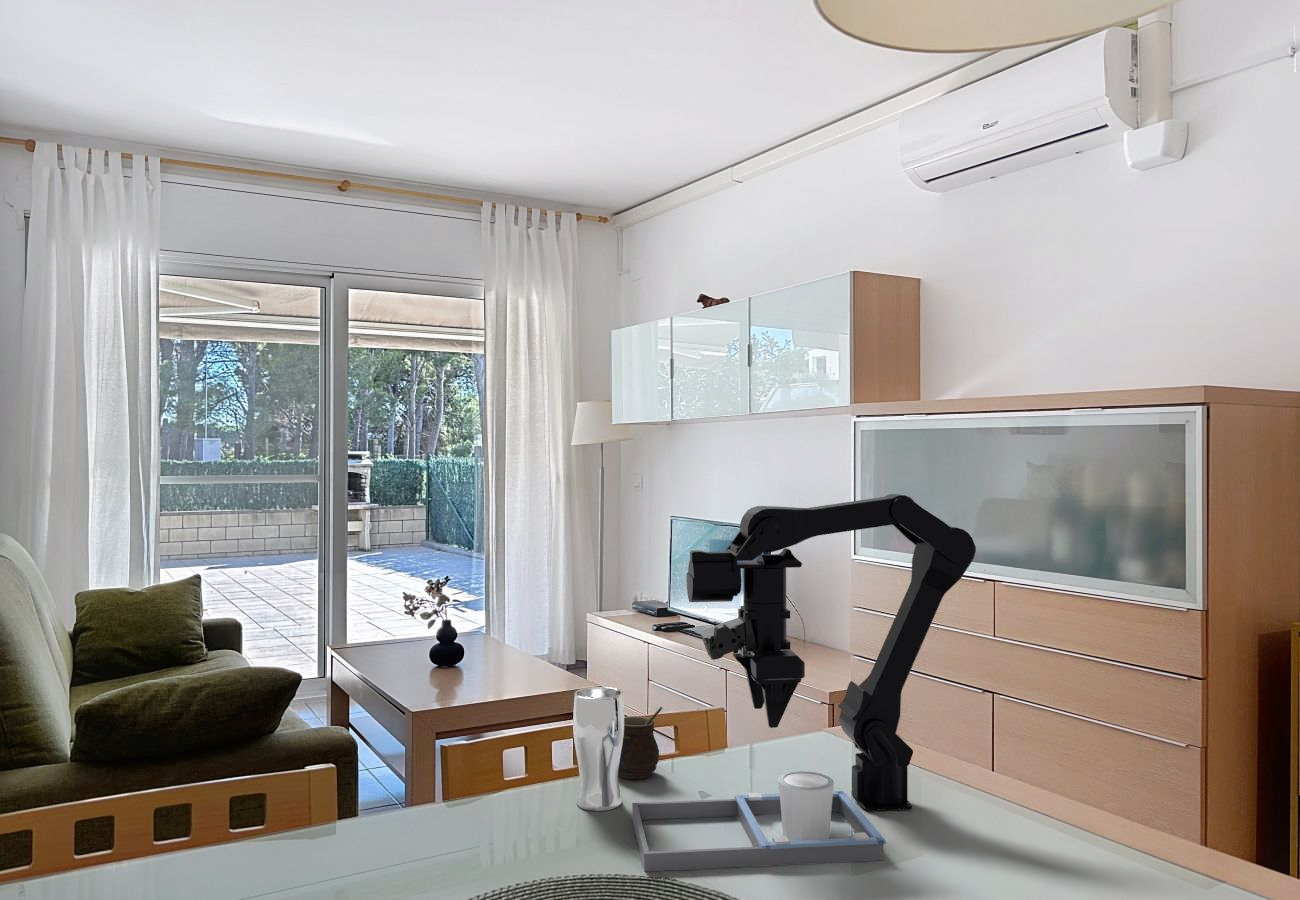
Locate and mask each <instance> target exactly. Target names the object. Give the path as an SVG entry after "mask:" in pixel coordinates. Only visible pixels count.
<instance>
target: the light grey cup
mask: <svg viewBox="0 0 1300 900" xmlns="http://www.w3.org/2000/svg"><path fill="white" fill-rule="evenodd" d="M834 785H835V783H834V779H833V778H831V776H828V775H825V774H822V773H820V772H819V773H818V772H814V771H801V770H800V771H790V772H786V773H783V774H781V775H780V776H779V777H778V791H779V792H778V794H780V805H781V814H780V815H781V825H782V834H783V835H782V836H786V837H787V838H788V840H789V841H801V840H823V839H830V827H831V817H832V812H831V809H832V798H833V791H834Z"/></svg>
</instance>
